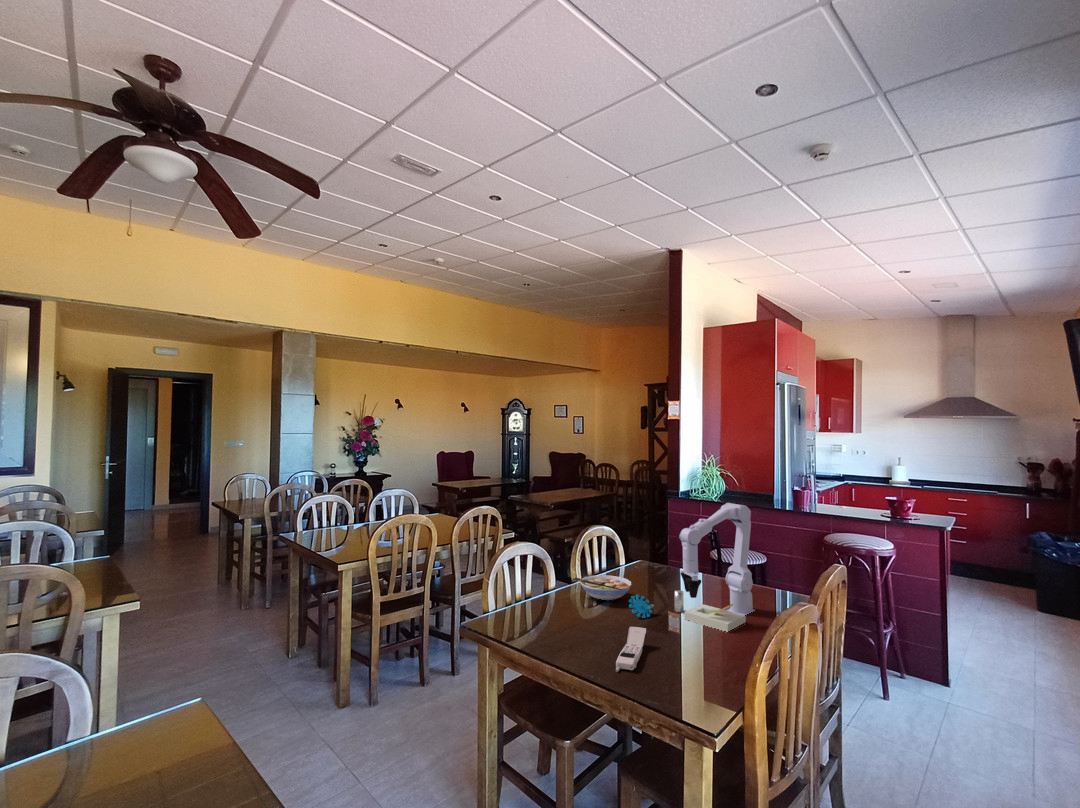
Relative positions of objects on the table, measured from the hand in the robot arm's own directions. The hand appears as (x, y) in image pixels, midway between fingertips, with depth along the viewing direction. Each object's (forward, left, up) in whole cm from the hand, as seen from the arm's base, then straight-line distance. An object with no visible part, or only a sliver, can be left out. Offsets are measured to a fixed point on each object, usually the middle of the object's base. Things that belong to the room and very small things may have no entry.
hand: (690, 594), depth 202 cm
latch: (-5, +11, -4) cm, 13 cm away
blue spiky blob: (+11, -16, -10) cm, 22 cm away
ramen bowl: (+5, -40, -10) cm, 41 cm away
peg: (-5, -9, -10) cm, 14 cm away
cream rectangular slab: (-5, +7, -10) cm, 13 cm away
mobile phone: (+46, +6, -10) cm, 47 cm away
